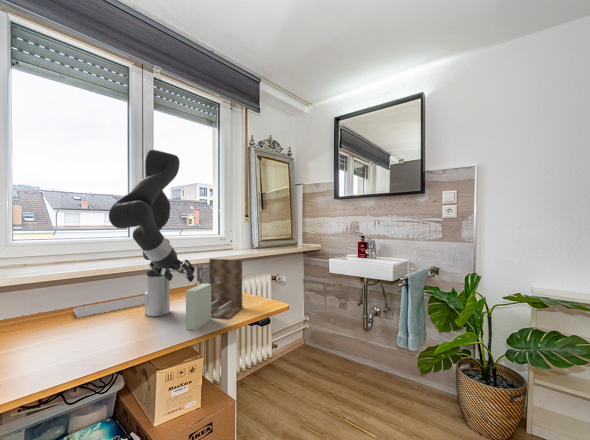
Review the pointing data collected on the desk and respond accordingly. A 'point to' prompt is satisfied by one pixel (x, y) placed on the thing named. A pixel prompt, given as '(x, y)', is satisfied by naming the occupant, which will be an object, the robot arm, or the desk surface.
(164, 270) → the robot arm
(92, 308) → the decorative molding
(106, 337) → the desk surface
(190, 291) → the pale green rectangular block
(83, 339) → the desk surface
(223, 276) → the wooden l-shaped stand
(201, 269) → the coffee box
